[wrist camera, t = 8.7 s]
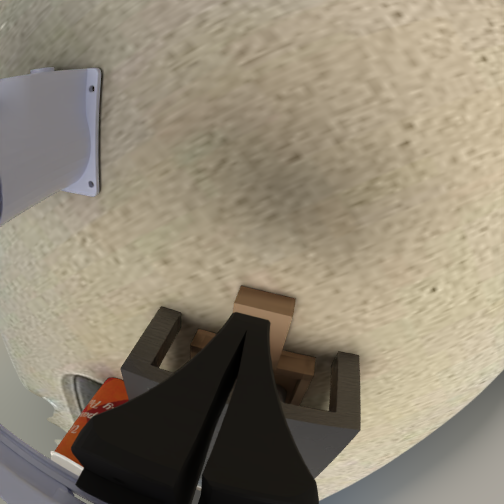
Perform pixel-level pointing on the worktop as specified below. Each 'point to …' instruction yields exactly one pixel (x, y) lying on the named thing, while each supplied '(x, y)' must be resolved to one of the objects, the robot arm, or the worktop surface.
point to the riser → (298, 418)
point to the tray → (272, 342)
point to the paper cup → (102, 401)
